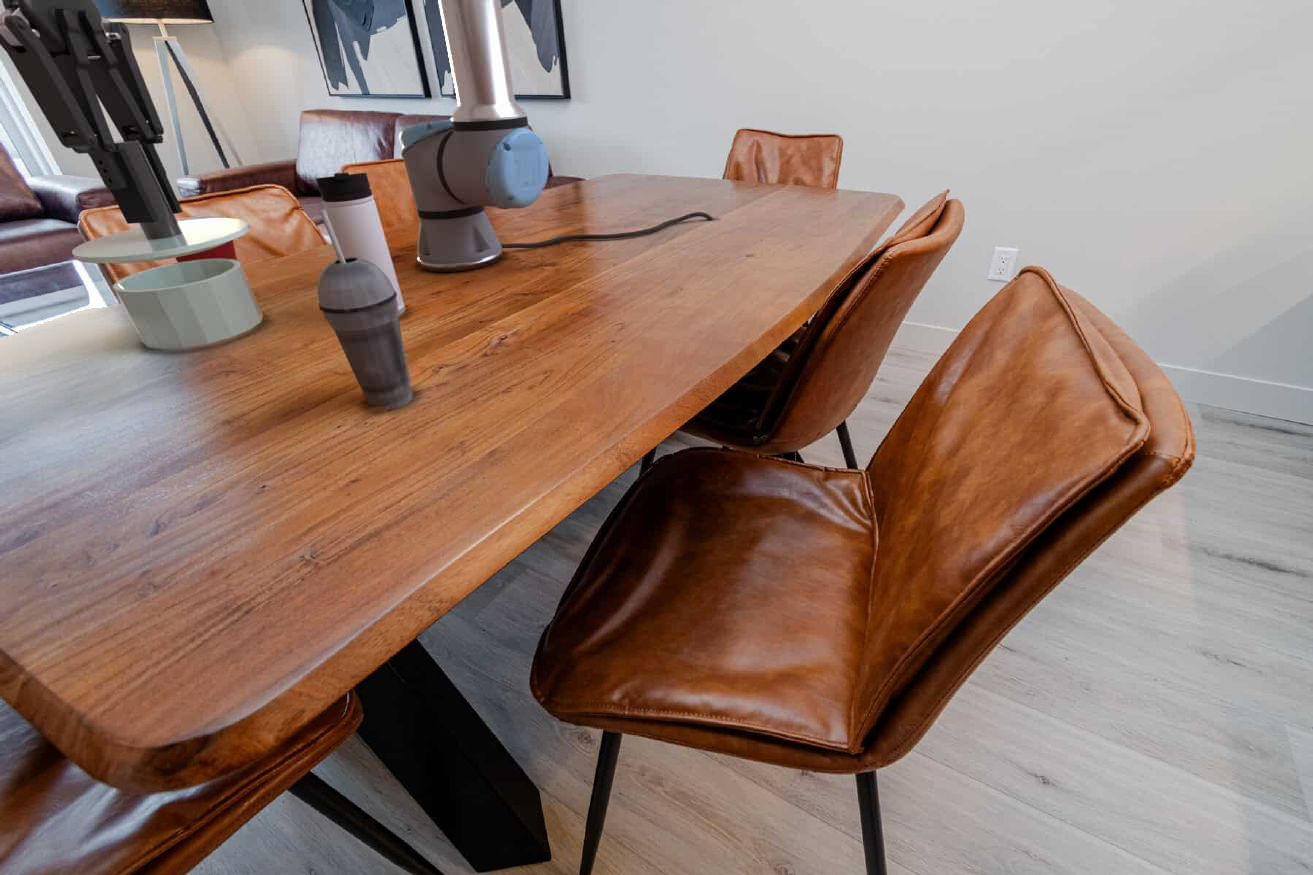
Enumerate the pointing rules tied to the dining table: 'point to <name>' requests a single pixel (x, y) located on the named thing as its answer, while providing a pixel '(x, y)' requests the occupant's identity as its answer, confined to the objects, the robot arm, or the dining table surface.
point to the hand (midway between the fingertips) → (155, 217)
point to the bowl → (189, 303)
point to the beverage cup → (366, 325)
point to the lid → (158, 226)
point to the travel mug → (357, 222)
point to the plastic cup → (218, 252)
